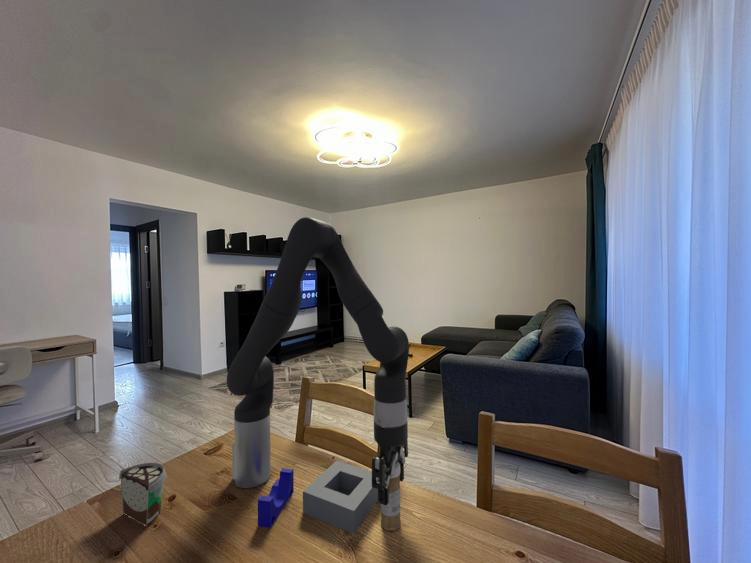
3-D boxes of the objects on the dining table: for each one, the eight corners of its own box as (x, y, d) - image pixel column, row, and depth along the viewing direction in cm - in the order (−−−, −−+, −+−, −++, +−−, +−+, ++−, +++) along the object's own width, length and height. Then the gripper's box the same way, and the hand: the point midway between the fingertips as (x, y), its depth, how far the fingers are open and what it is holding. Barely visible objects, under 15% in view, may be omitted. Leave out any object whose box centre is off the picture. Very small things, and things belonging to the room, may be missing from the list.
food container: (178, 510, 74) (178, 468, 74) (150, 529, 68) (150, 484, 68) (147, 496, 79) (147, 456, 79) (119, 512, 73) (119, 470, 73)
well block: (302, 512, 73) (302, 491, 73) (336, 478, 85) (336, 460, 85) (354, 534, 66) (354, 510, 66) (382, 494, 79) (382, 474, 79)
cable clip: (277, 490, 81) (277, 467, 81) (293, 492, 80) (293, 469, 80) (251, 526, 69) (251, 499, 69) (270, 528, 68) (270, 501, 68)
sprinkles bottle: (396, 514, 72) (395, 456, 72) (404, 529, 68) (403, 467, 68) (377, 519, 71) (377, 460, 71) (384, 534, 66) (383, 471, 66)
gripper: (388, 403, 77) (389, 469, 77) (359, 428, 64) (361, 506, 64) (417, 408, 74) (418, 477, 74) (393, 435, 61) (394, 518, 61)
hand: (391, 491), depth 69 cm, fingers open, 8 cm apart
